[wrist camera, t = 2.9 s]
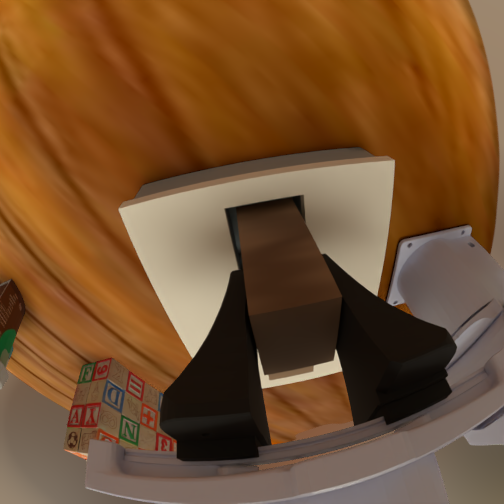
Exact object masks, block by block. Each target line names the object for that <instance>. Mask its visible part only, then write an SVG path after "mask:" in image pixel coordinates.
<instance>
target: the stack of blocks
mask: <svg viewBox="0 0 504 504" xmlns="http://www.w3.org/2000/svg"><path fill="white" fill-rule="evenodd" d="M77 384H78V385H77V388H76V392H75V395H74V399H73V403H72V407H71V410H70V415H69V421H68V424H67V432H66V437H65V442H64V450H66V451H68V452H70V453H72V454H74V455H77V456H79V457H81V458H84V459H85V460H86V461H87V457H88V448H89V441H90V439H97V440H103V441H110V442H114V443H117V444H119V445H121V446H123V447H124V448H129V449H139V450H153V451H177V441H176V440H175V439H173V438H172V437H170V436H169V435H168V434H166V433H165V432H164V431H163V430H162V429H161V428H160V426H159V423H160V408H161V403H162V398H163V394H162V393H161V392H159V391H157V390H156V389H154V388H153V387H151V386H150V385H148V384H147V383H145V382H144V381H143V380H142V379H140V378H139V377H137V376H136V375H134V374H133V373H132V372H130V371H129V370H128V369H126V368H125V367H124V366H122V365H121V364H120V363H119V362H117V361H116V360H115V359H113V358H109V359H105V360H101V361H98V362H95V363H91V364H87V365H83V366H82V369H81V372H80V376H79V380H78V383H77Z"/></svg>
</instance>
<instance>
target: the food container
mask: <svg viewBox="0 0 504 504" xmlns="http://www.w3.org/2000/svg"><path fill="white" fill-rule="evenodd" d="M24 314H25V304H24V301H23V298H22V296H21V293H20V291H19V290H18V288H17V286H16V285H15V283H14V282H13V280H12V279H10V280H8V281H6V282H4V283H2V284H0V389H1V388H2V387H3V386H4V384H5V382H6V381H7V379H8V373H7V370H6V368H5V367H6V363H7V360H8V357H9V354H10V351H11V348H12V345H13V342H14V339H15V337H16V334H17V331H18V329H19V326H20V324H21V321H22V319H23V316H24Z"/></svg>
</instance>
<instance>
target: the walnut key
mask: <svg viewBox="0 0 504 504" xmlns="http://www.w3.org/2000/svg"><path fill="white" fill-rule="evenodd" d="M236 213H237V221H238V230H239V239H240V247H241V256H242V264H243V272H244V280H245V289H246V297H247V305H248V313H249V318H250V322H251V326H252V330H253V334H254V338H255V342H256V346H257V349H258V353H259V357H260V361H261V365H262V369H263V372H264V375H270V374H275V373H281V372H286V371H291V370H296V369H300V368H305V367H310V366H314V365H318V364H322V363H326V362H330V361H334V356H335V350H336V343H337V336H338V328H339V321H340V312H341V303H342V295H341V293H340V291H339V289H338V287H337V285H336V282H335V280H334V278H333V276H332V274H331V272H330V270H329V268H328V266H327V264H326V262H325V260H324V258H323V256H322V254H321V252H320V250H319V248H318V246H317V244H316V242H315V241H314V239H313V237H312V235H311V233H310V231H309V229H308V227H307V225H306V223H305V222H304V220H303V218H302V216H301V214H300V212H299V210H298V209H297V207H296V205H295V203H294V201H293V199H292V198H286V199H280V200H274V201H269V202H263V203H257V204H252V205H246V206H241V207H236Z"/></svg>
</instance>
